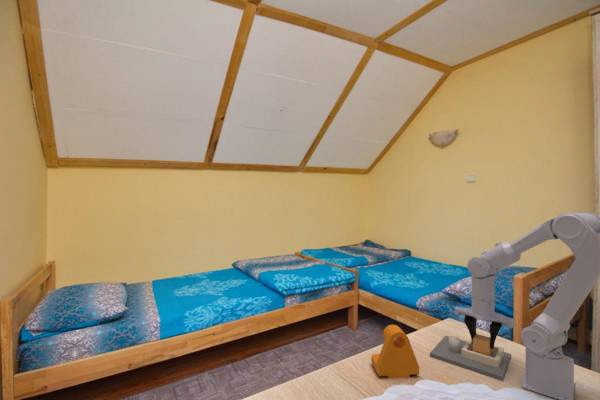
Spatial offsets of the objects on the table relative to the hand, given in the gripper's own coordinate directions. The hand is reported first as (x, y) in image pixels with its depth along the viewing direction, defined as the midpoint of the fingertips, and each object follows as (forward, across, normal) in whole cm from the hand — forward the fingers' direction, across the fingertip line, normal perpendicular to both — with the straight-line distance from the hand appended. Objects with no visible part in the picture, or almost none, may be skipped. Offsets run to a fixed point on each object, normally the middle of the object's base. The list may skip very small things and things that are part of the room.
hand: (482, 345), depth 88 cm
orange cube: (+2, 0, -1) cm, 2 cm away
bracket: (+4, -17, -22) cm, 28 cm away
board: (+4, -3, -1) cm, 5 cm away
